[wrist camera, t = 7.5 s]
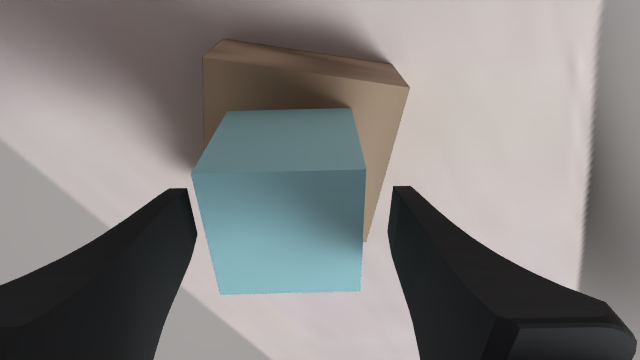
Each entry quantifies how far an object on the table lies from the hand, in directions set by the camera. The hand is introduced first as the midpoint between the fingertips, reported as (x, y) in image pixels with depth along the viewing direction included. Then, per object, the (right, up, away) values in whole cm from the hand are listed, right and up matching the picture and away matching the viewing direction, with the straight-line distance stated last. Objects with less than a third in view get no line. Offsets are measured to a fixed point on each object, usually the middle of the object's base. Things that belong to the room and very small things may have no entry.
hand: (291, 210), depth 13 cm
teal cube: (0, +2, +3) cm, 4 cm away
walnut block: (0, +4, +6) cm, 8 cm away
